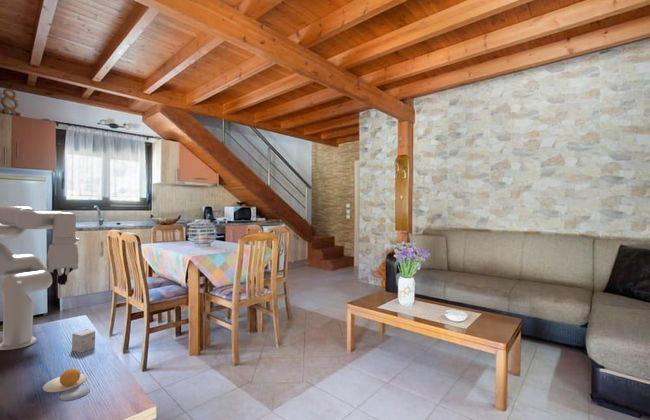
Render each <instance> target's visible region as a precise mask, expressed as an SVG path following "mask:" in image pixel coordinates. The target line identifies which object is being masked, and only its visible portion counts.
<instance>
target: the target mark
mask: <svg viewBox="0 0 650 420" xmlns="http://www.w3.org/2000/svg"><path fill="white" fill-rule="evenodd" d="M87 379H88V377H87V375H86V374H85V373H80V378H79V380H78V381H77V383H75V384H74V385H72V386H69V387H65V386H63V385H61V383H60V376H58V377H55V378H53V379H51V380H49V381H48V382H46V383H45V384H44V385H43V386H42V390H43V391H44V392H46V393H59V392H65V391H67V390H69V389H72V388H76V387H80V386H82V384H84V383H85V382H86V381H87Z"/></svg>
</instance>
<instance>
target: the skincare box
mask: <svg viewBox="0 0 650 420" xmlns="http://www.w3.org/2000/svg"><path fill="white" fill-rule="evenodd" d="M71 336H72V338H71V340H72V341H71V351H73V352H75V353H76V352H77V353H84V352H86V351H88V350H89V351H90V350H92V349H95V348H96V330H92V329H87V328H86V329H84V330H79V331H75V332H73V333H72V335H71Z"/></svg>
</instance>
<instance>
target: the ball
mask: <svg viewBox="0 0 650 420" xmlns="http://www.w3.org/2000/svg"><path fill="white" fill-rule="evenodd" d="M80 374H81V373H80V370H78V369H77V368H68V369H67V370H64V371H63V373H62V374H61V375H60V376H59V377H60V383H61V385H63V386H65V387H69V386H72V385H74V384H75V383H77V381H78V380H79V378H80Z"/></svg>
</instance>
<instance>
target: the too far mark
mask: <svg viewBox="0 0 650 420" xmlns="http://www.w3.org/2000/svg"><path fill="white" fill-rule="evenodd" d="M90 391H91V388H90V387H89V386H77V387H74V388H72V389H69V390H65V391H62V393H61V394H60V395H59V400H60V401H63V402H64V401H65V402H68V401H69V400H70V401H74V400H78V399H80V398H83V397H85V396H87V395H88V394H89V393H90Z"/></svg>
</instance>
